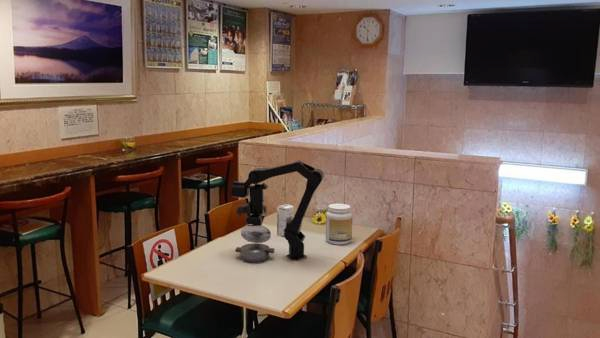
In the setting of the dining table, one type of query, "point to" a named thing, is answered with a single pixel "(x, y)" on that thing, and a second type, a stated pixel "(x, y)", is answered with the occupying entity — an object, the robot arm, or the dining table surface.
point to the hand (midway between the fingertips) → (256, 233)
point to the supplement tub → (339, 224)
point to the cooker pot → (255, 252)
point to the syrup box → (284, 217)
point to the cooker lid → (255, 233)
